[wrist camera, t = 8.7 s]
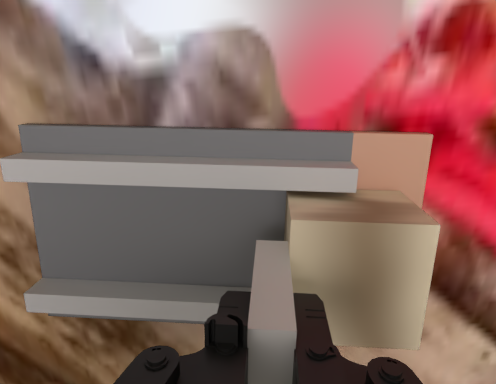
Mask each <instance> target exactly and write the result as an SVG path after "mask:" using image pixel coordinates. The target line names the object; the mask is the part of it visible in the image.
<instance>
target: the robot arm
mask: <svg viewBox="0 0 496 384" xmlns="http://www.w3.org/2000/svg"><path fill="white" fill-rule="evenodd" d="M204 327H205V348H203V349H202V350H200V351H198V352H196V353H193V354H189V355H184V356H179V354H178V353H177V352H176V350H175V349H173V348H171V347H168V346H154V347H150V348H148V349H146V350H144V351H142V352H141V353H140V354H139V355H138V356H137V357H136V358H135V359H134V360H133V361H132V362H131V364H130V365H129V366H128V367H127V368H126V370H125V371H124V372H123V373H122V374H121V375H120V377H119V378H118V379H117V380H116V381H115V382H114V384H423V383H422V382H421V381H420V380H419V378H418V377H417V376H416V375H415V373H414V372H413V371H412V370H411V369H410V368H409V367H408V366H407V365H406V364H404V363H402V362H400V361H398V360H396V359H392V358H389V357H378V358H374V359H372V360H371V361H370V362H369V363H368V366H364V365H360V364H357V363H354V362H351V361H349V360H347V359H345V358H344V357H342V356H341V355H340V352H339V350H338V349H337V347H336V346H334V345H333V342H332V338H331V333H330V329H329V325H328V320H327V316H326V312H325V307H324V303H323V301H322V300H321V299H320V298H319V296H318V295H317V294H308V293H293V287H292V277H291V267H290V257H289V248H288V241H269V240H256V249H255V259H254V269H253V278H252V288H251V292H247V291H227V292H226V293H225V294H224V295H223V296H222V297H221V298H220V302H219V307H218V311H217V314H214V315H212V316H210V317H209V318H207V320H206V322H205V323H204Z"/></svg>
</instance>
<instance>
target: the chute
mask: <svg viewBox="0 0 496 384" xmlns="http://www.w3.org/2000/svg"><path fill="white" fill-rule="evenodd" d="M18 127H19V133H20V139H21V145H22V153H18V154H15V155H11V156H7V157H4V158H0V163H1V169H2V175H3V180H4V181H6V182H27V183H28V190H29V196H30V202H31V208H32V215H33V221H34V227H35V234H36V240H37V246H38V253H39V259H40V265H41V272H42V279H40V280H39V281H38V282H37V283H36V284H35V285H33V286H32V287H31V288H30V289H29V290H27V291H26V292H25V293H24V299H25V304H26V310H27V312H36V313H48V316H63V317H82V318H101V319H119V320H138V321H157V322H175V323H194V324H204V323H205V322H206V320H207V318H209V317H210V316H212V315H214V314H217V311H218V307H219V302H220V298H221V297H222V296H223V295H224V294H225V293H226V292H227V291H247V292H251V288H252V278H253V269H254V259H255V249H256V240H269V241H284V234H285V213H286V191H315V192H346V193H356V189H358V190H389V191H401V192H402V193H403V194H404V195H405V196H406V197H408V198H409V199H410V200H411V201H412V202H414V203H415V204H416V205H417V206H418V207H420V208H421V209H422V203H423V197H424V190H425V184H426V178H427V171H428V165H429V158H430V152H431V146H432V139H433V134H429V133H419V132H375V131H331V130H288V129H244V128H200V127H157V126H113V125H70V124H22V125H18Z"/></svg>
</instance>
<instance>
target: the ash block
mask: <svg viewBox="0 0 496 384" xmlns="http://www.w3.org/2000/svg"><path fill="white" fill-rule="evenodd" d="M440 226H441V225H440V224H438V223H437V222H436V221H435V220H434V219H433V218H431V217H430V216H429V215H428V214H427V213H425V212H424V211H423V210H422V209H421V208H420V207H418V206H417V205H416V204H415V203H414V202H412V201H411V200H410V199H409V198H408V197H406V196H405V195H404V194H403V193H402V192H401V191H389V190H358V189H356V193H346V192H315V191H286V213H285V234H284V241H288V248H289V257H290V267H291V277H292V287H293V293H308V294H317V295H318V296H319V298H320V299H321V300H322V301H323V303H324V307H325V312H326V316H327V320H328V325H329V329H330V333H331V338H332V342H333V345H336V346H354V347H372V348H390V349H407V350H419V347H420V341H421V335H422V330H423V324H424V318H425V312H426V307H427V301H428V295H429V289H430V284H431V278H432V272H433V266H434V261H435V255H436V249H437V243H438V238H439V232H440Z"/></svg>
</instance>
